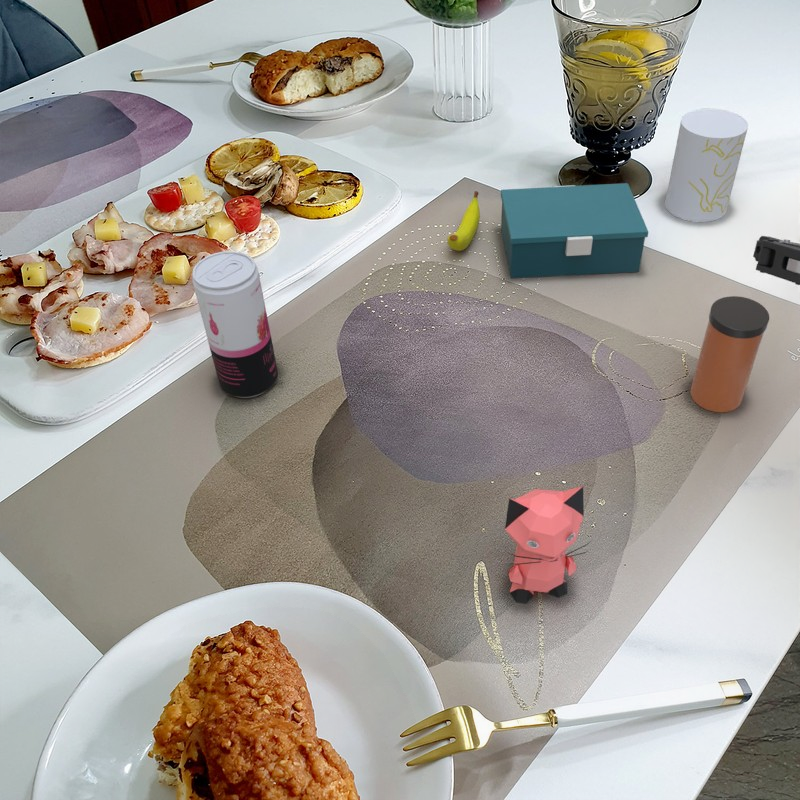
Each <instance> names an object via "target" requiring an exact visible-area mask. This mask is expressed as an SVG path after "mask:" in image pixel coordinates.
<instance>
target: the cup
mask: <svg viewBox="0 0 800 800" xmlns="http://www.w3.org/2000/svg"><path fill="white" fill-rule="evenodd" d="M748 129H749V123H748V122H747V120H746V119H745V118H744V117H743V116H742V115H739V114H738V113H735V112H734V111H729V110H726V109H721V108H698V109H694V110H691V111H687V112H686V113H685V114H683V116H682V117H681V119H680V124H679V129H678V135H677V139H676V145H675V150H674V155H673V159H672V165H671V170H670V174H669V175H670V176H669V181H668V185H667V192H666V195H665V201H664V206H665V209H666V210H667V211H668V212H669V213H670V214H671V215H673V216H674V217H676V218H678V219H681V220H684V221H687V222H693V223H710V222H714V221H716V220H719V219H721V218H723V217H724V216H725V215H726V213H727V211H728V208H729V204H730V200H731V196H732V192H733V187H734V184H735V180H736V176H737V172H738V168H739V165H740V161H741V157H742V152H743V149H744V144H745V141H746V136H747V132H748Z"/></svg>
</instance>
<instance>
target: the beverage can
mask: <svg viewBox="0 0 800 800" xmlns="http://www.w3.org/2000/svg"><path fill="white" fill-rule="evenodd" d="M260 277H261V276H260V272H259V267H258V265H257V264H256V262H255V260H254V258H253V257H251V255H249V254H247V253H245V252H242V251H236V250H226V251H219V252H214V253H212V254H209V255H207V256H205V257H203V258H202V259H200V260H199V261H198V262H197V263H196V264H195V266H194V267H193V269H192V285H193V289H194V291H195V292H194V293H195V297H196V300H197V304H198V309H199V312H200V315H201V316H200V317H201V318H202V324H203V327H204V331H205V335H206V339H207V343H208V346H209V350H210V355H211V358H212V361H213V366H214V369H215V373H216V378H217V380H218V381H217V382H218V385H219V387H220V389H221V390H222V391H223V392H224V393H226V394H227V395H229V396H231V397H236V398H240V399H249V398H255V397H257V396H259V395H263V394H265V393H266V392H267V391H269V390H270V389H272V387H273V386H274V385H275V384H276V382H277V380H278V377H279V371H278V366H277V365H278V364H277V360H276V355H275V349H274V344H273V339H272V334H271V329H270V323H269V319H268V314H267V308H266V303H265V298H264V292H263V288H262V282H261V278H260Z"/></svg>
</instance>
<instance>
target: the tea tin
mask: <svg viewBox="0 0 800 800" xmlns="http://www.w3.org/2000/svg"><path fill="white" fill-rule="evenodd" d="M769 322H770V314H769V311H768V310H767V308H766V307H765V306H764V305H762V304H761V303H760V302H758V301H756V300H754V299H751V298H749V297H744V296H736V295H731V296H723V297H721V298H718V299H717V300H715V301H714V302H713V303H712V304H711V306H710V309H709V314H708V321H707V325H706V329H705V333H704V337H703V340H702V345H701V349H700V352H699V356H698V359H697V363H696V368H695V372H694V375H693V378H692V383H691V387H690V397H691V398H692V401H694V403H695V404H696V405H698V406H699V407H701V408H702V409H704V410H706V411H710V412H714V413H728V412H729V413H730V412H732V411H734V410H736V409H738V408H739V407H740V405H741V404H742V402H743V399H744V395H745V393H746V390H747V385H748V383H749V380H750V377H751V374H752V371H753V368H754V365H755V361H756V358H757V355H758V353H759V350H760V346H761V343H762V340H763V336H764V334H765V332H766V330H767V328H768V325H769Z"/></svg>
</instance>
